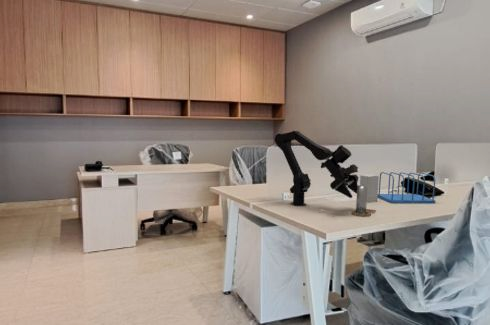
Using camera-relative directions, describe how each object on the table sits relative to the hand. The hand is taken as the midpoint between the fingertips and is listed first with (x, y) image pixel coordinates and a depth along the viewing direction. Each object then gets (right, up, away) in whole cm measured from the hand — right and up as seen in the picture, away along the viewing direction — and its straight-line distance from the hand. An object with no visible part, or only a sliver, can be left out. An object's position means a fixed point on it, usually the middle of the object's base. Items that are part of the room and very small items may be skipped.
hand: (356, 196), depth 160 cm
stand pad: (+7, -8, +6) cm, 12 cm away
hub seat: (+2, -9, -1) cm, 9 cm away
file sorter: (+39, -6, +37) cm, 54 cm away
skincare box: (+16, -6, +30) cm, 34 cm away
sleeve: (+2, -8, -1) cm, 8 cm away
